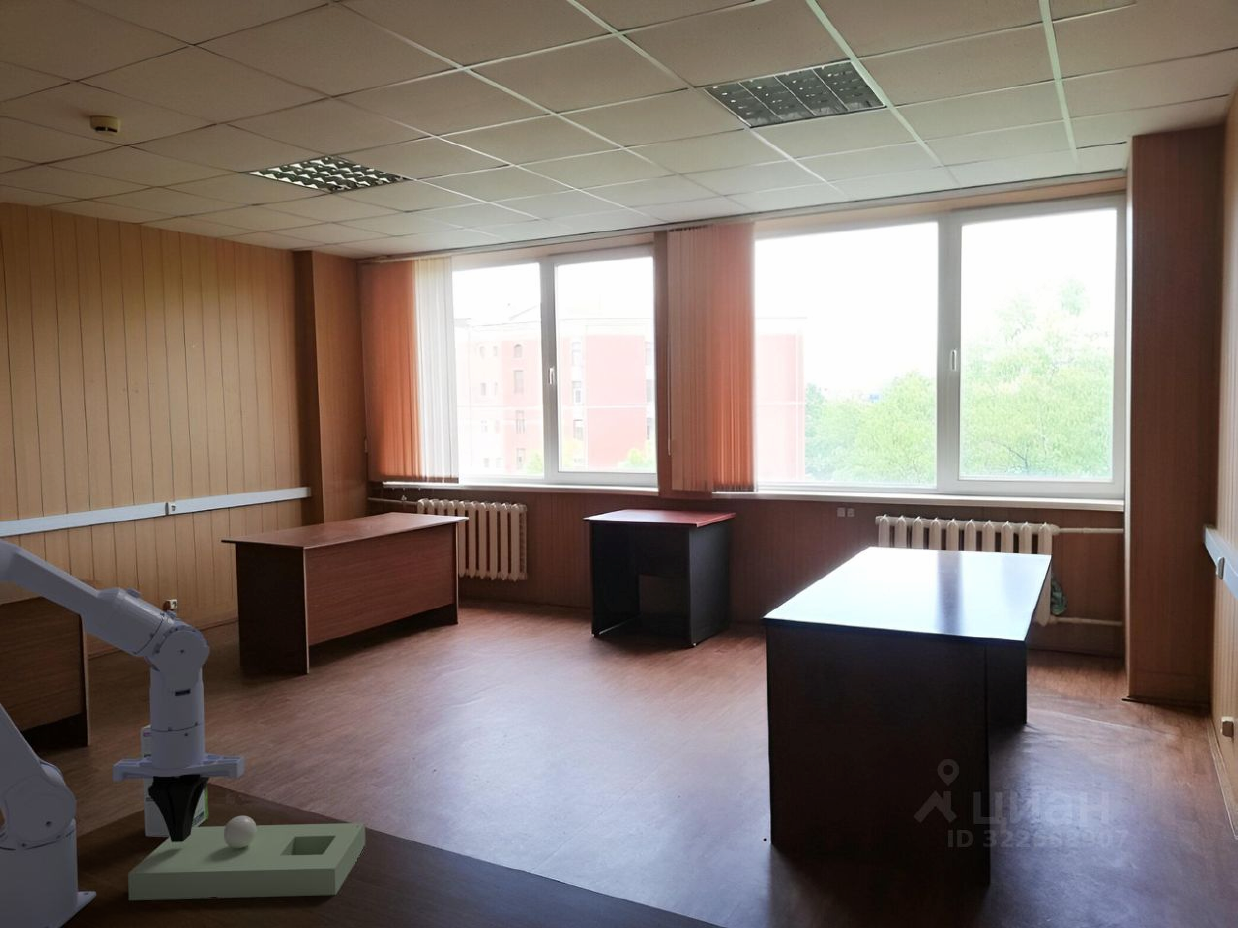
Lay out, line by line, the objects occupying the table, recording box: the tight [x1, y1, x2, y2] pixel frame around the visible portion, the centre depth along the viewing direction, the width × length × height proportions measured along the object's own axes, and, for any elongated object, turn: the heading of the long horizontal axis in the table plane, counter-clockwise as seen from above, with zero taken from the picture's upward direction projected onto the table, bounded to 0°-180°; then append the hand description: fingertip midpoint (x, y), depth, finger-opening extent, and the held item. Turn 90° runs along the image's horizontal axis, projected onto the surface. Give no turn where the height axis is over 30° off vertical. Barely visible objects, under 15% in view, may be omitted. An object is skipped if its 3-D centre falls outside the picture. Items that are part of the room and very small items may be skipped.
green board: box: [127, 822, 366, 901], centre depth 104 cm, size 23×12×3 cm, turn 91°
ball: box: [224, 815, 257, 849], centre depth 104 cm, size 4×4×4 cm
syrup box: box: [139, 724, 209, 838], centre depth 117 cm, size 6×6×14 cm
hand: (181, 838), depth 104 cm, fingers closed
